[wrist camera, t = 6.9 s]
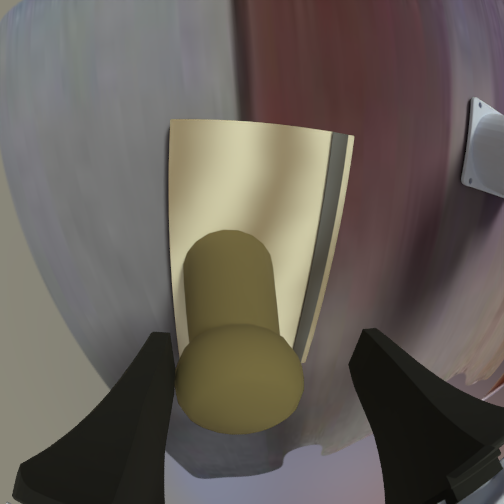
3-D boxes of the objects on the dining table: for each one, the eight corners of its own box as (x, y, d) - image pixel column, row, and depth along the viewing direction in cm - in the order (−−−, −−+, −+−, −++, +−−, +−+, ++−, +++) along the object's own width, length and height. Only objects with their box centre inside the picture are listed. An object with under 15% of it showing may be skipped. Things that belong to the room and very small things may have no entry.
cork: (290, 256, 19) (356, 387, 9) (243, 320, 21) (264, 456, 11) (210, 212, 17) (204, 340, 7) (168, 286, 19) (140, 429, 9)
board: (347, 135, 16) (355, 136, 15) (302, 354, 25) (305, 364, 24) (173, 119, 15) (169, 119, 14) (181, 355, 23) (180, 365, 22)
